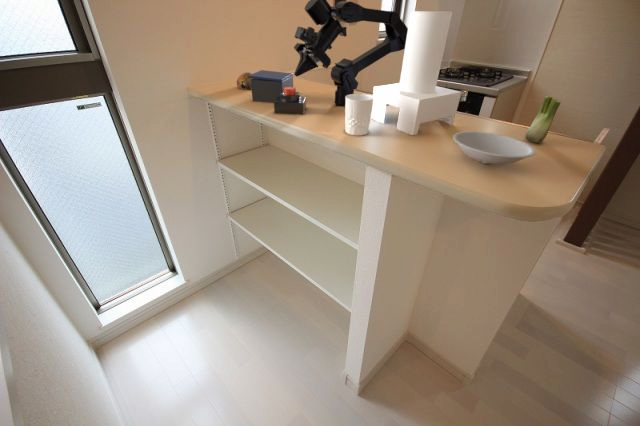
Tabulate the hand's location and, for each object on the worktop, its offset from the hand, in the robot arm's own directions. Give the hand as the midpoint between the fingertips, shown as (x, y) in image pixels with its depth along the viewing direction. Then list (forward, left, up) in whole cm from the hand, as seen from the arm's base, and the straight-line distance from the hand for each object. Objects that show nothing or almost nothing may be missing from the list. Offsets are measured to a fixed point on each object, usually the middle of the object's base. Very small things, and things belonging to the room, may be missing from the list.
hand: (295, 75), depth 101 cm
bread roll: (+27, -33, -12) cm, 44 cm away
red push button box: (+2, +1, -11) cm, 12 cm away
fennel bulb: (-71, +22, -12) cm, 75 cm away
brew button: (+2, +1, -6) cm, 6 cm away
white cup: (-21, +20, -12) cm, 31 cm away
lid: (+12, -15, -3) cm, 19 cm away
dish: (-52, +38, -12) cm, 66 cm away
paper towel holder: (-39, +8, -12) cm, 42 cm away
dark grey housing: (+11, -15, -11) cm, 22 cm away
